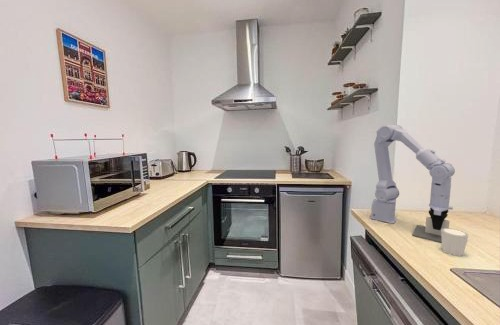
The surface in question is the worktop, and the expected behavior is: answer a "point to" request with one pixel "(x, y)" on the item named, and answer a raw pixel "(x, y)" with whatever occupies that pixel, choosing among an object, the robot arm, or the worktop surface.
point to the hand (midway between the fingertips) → (437, 228)
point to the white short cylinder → (453, 241)
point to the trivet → (426, 234)
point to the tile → (430, 228)
